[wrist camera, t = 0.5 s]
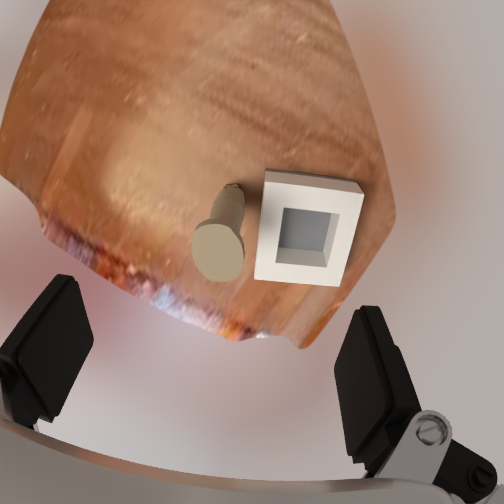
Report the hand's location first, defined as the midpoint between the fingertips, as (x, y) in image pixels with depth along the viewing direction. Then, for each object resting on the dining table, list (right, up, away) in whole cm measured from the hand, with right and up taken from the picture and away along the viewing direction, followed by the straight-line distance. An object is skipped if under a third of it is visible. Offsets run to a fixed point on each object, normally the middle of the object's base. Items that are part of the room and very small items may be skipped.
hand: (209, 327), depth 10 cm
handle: (-1, +10, +33) cm, 34 cm away
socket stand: (+8, +7, +34) cm, 36 cm away
